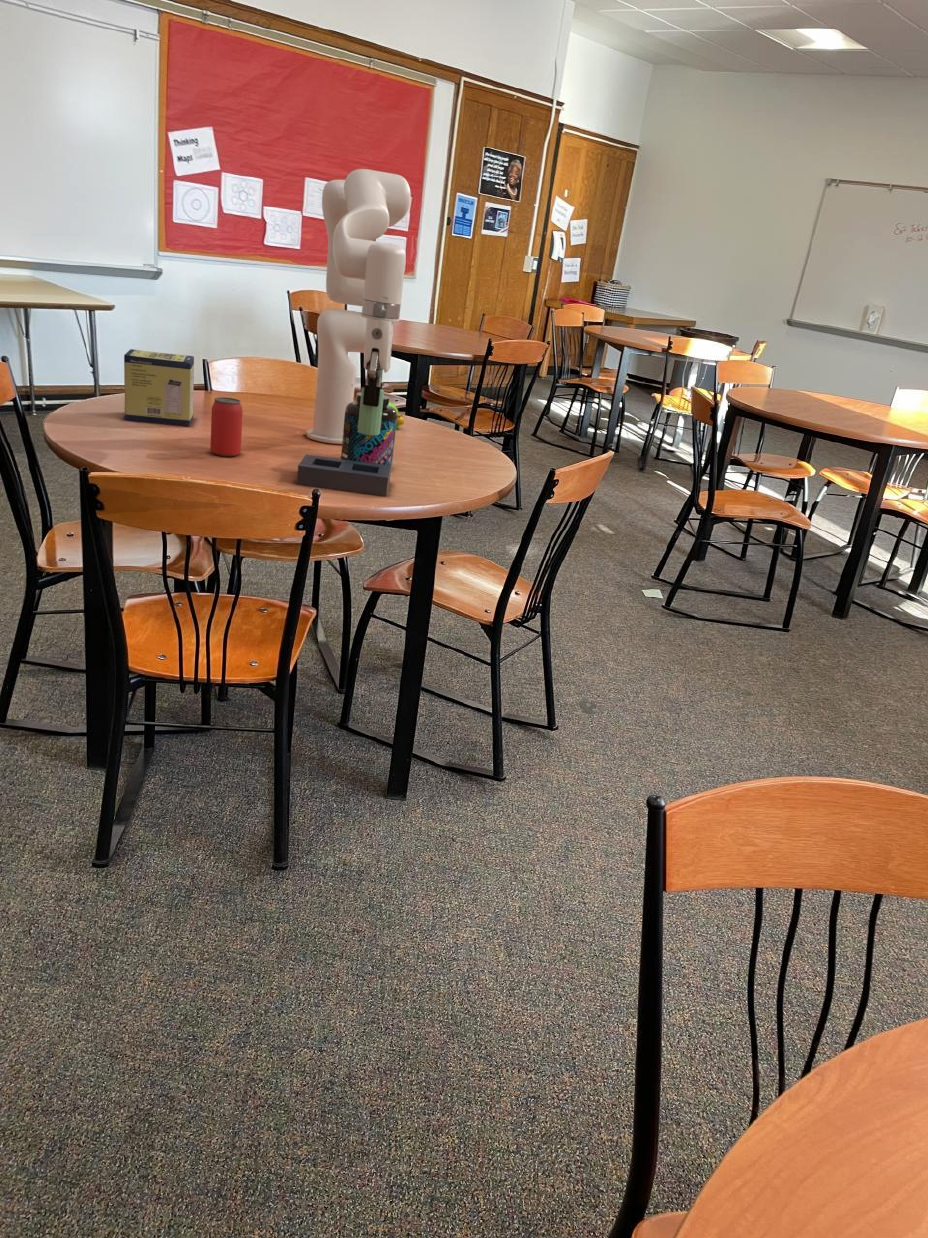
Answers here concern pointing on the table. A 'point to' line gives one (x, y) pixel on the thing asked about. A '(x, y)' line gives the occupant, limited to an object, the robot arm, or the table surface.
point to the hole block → (344, 475)
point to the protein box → (158, 387)
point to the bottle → (370, 416)
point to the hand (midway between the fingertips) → (371, 402)
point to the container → (369, 436)
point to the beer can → (226, 427)
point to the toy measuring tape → (399, 417)
